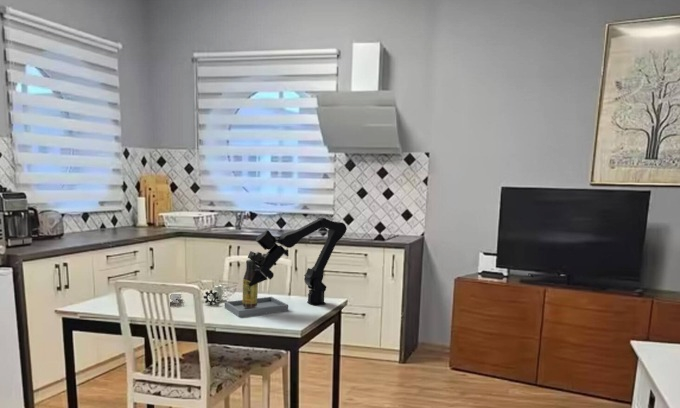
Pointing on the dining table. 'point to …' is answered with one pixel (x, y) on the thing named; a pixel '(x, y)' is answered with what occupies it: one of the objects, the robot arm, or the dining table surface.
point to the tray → (262, 307)
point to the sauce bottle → (248, 291)
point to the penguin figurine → (175, 297)
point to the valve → (214, 294)
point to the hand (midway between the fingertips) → (247, 284)
